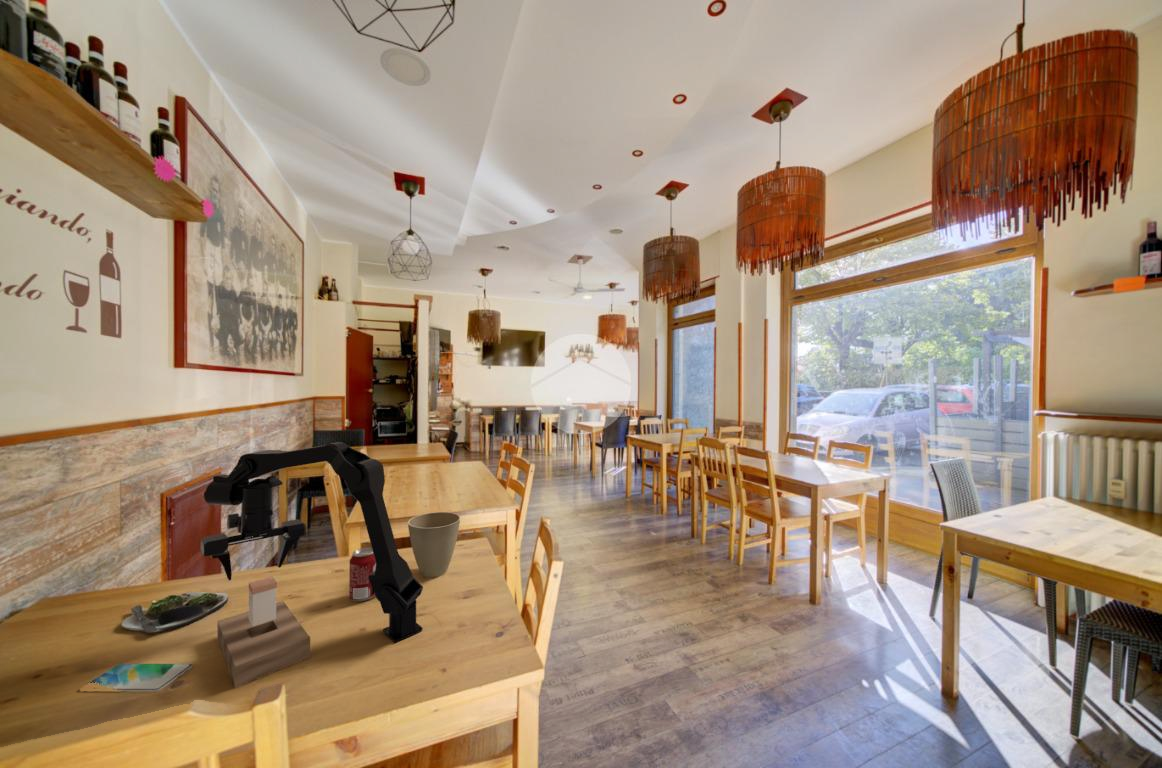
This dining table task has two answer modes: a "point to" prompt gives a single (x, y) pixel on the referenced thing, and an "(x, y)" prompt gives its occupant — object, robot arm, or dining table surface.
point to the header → (261, 644)
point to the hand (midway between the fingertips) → (255, 573)
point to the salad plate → (174, 612)
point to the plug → (262, 600)
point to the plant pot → (433, 541)
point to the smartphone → (142, 676)
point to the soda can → (361, 574)
